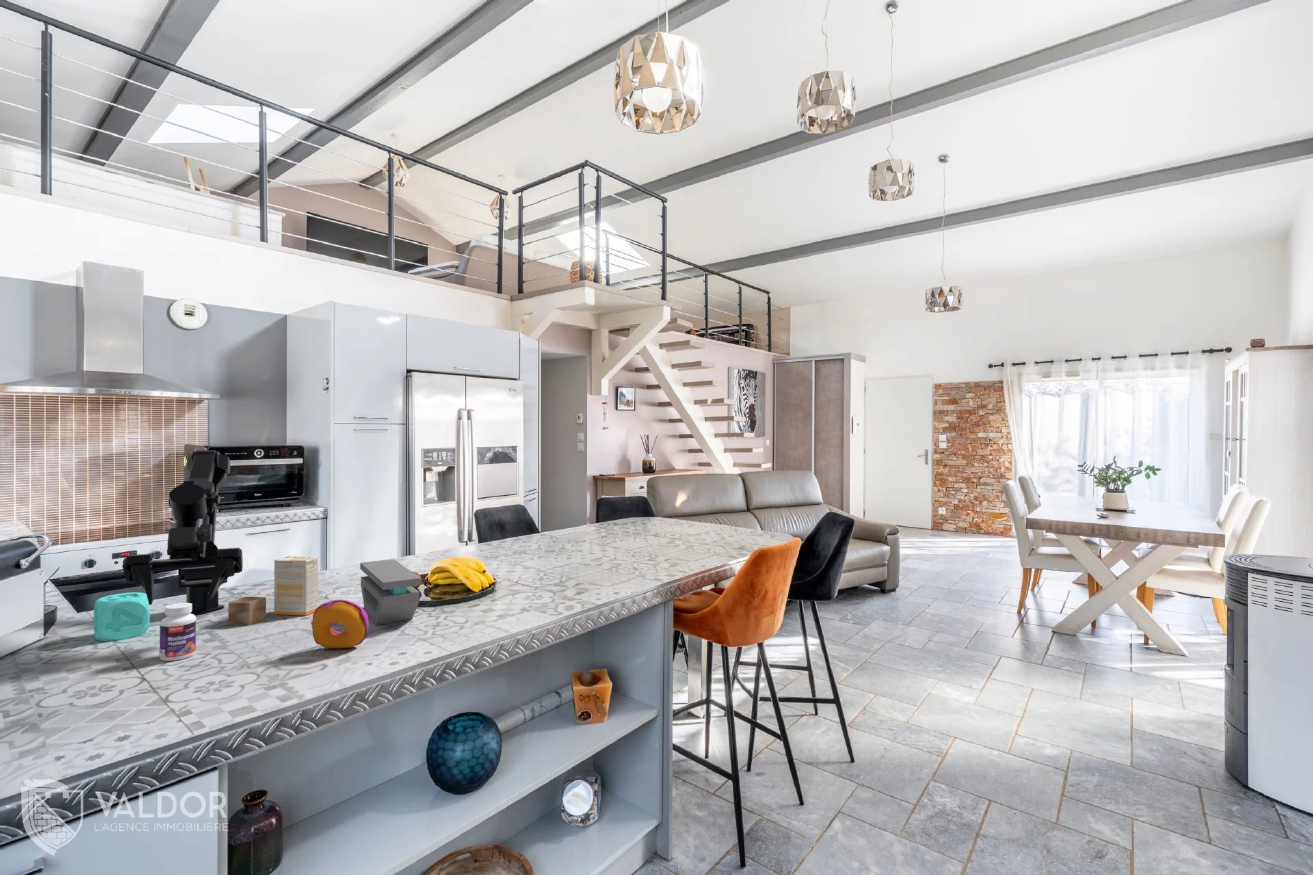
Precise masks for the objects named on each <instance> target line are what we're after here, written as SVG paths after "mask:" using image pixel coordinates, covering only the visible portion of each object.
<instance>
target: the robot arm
mask: <svg viewBox="0 0 1313 875" xmlns="http://www.w3.org/2000/svg"><path fill="white" fill-rule="evenodd" d="M186 460H187V461H186V462H187V463H186V473H187V474H188V479H187V480H183V482H181V483H180V484H179V485H177V486H176V487H174V488H172V490H171V491H170V492H169V493H168V505H169V508H170V509H171V514H172V515H171V516H172V518H173V519H174V520H175V521H174V527H171V528H169V529H168V534H167V544H166V545H167V547H166V548H167V549H166V553H167V556H169V558H163V559H153V556H152V553H142V554H141V553H139V554H129V555H127V556H126V557H125V558H123V562H122V565H121V566H122V570H123V573H124V577H125V578H124V579H125V581H126V582H127V583H128V582H129V583H133V584H135V585H137V586H139V585H140V586H141V587H142V590H144V593H145V594H146V595H147V599H148V602H149V606H152V605H153V602H154V597H155V596H154V593H155V592H154V591H155V590H154V589H155V580H154V574H155V571H167V570H177V573H178V577H177V578H178V588H179V589H184V588H185V589H186V592H185V593H186V598H185V599H186V602H185V603H191V604H192V612H190V614H193V615H195V616H196V615H201V614H206V613H210V612H213V611H217V610H221V609H225V605H222V604H219V589H220V587H222V585H224V584H226V583H228V579H229V578H230V577H233V576H235V574H240V573H242V572H243V569H244V568H243V567H244V562H243V560H244V559H243V549H241V548H240V547H229V548H219V547H218V546H217V545H216V543H215V537H216V525H217V524H216V522H217V510H218V507H219V504H220V503H221V496H220V495H219V491H220V490H221V488H222V487H223V486H224V485H225V484H226V483H227V478H228V476H227V475H228V474H229V475H230V472H231V460H230V457H229V456H227V455H225V454H222V453H220V452H219V451H216V450H211V449H210V450H209V449H208V450H204V449H203V450H200V449H199V450H197V449H196V451H192V454H190V455H188V456H187V459H186Z"/></svg>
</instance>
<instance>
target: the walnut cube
mask: <svg viewBox="0 0 1313 875" xmlns="http://www.w3.org/2000/svg"><path fill="white" fill-rule="evenodd" d="M227 606H228V607H227V608H228V614H227V616H228V617H227V618H228V619H227V622H228V623H227V624H228V625H231V626H232V625H233V626H251V625H253V624H256V623H258V622H262V621H264V620H266V619H267V597H266V596H243V597H240V598H238V599H237V598H236V599H235V600H232V601H228V605H227ZM263 619H264V620H263Z"/></svg>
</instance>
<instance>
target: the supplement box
mask: <svg viewBox="0 0 1313 875" xmlns="http://www.w3.org/2000/svg"><path fill="white" fill-rule="evenodd" d="M273 564H274V565H273V566H274V569H273V570H274V574H273V577H274V580H273V582H274V584H273V585H274V587H273V590H274V592H273V593H274V594H273V596H274V598H273V600H274V602H273V603H274V606H273V610H274V612H273V614H274V615H277V616H280V615H281V616H284V615H285V616H287V615H289V616H308V615H311V614H314V612H315V610H316V609H317V608H318V607H319V556H296V555H295V556H291V555H288V556H284V557H280V558H277V559H274V562H273Z"/></svg>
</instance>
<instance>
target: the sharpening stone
mask: <svg viewBox="0 0 1313 875" xmlns="http://www.w3.org/2000/svg"><path fill="white" fill-rule="evenodd" d="M359 565H360V566H359V570H360V571H362V572H363V573H364V574H365V576H360V589H361V594H362V595H361V596H362V601H363V609H364V611H365V612H366V613H367V615H368V619H370V620H371V621H372V623H373V624H374V625H375V626H379V625H386V624H391V623H398V622H404V621H409V620H413V619H414V615H415V613H416V610H417V608H418V605H419V604H420V603H419V602H420V591H419V590H417V589H416V588H415V587H416V586H422V578H421V577H420V576H419V575H417V574H416V573H415V572H413V571H412V570H410V569H408V568H407V567H406V566H404V565H403V564H401V563H400V562H399V561H397V560H395V558H394V559H393V558H391V559H383V560H382V559H381V560H374V561H364V562H363V561H362V562H360V564H359Z"/></svg>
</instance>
